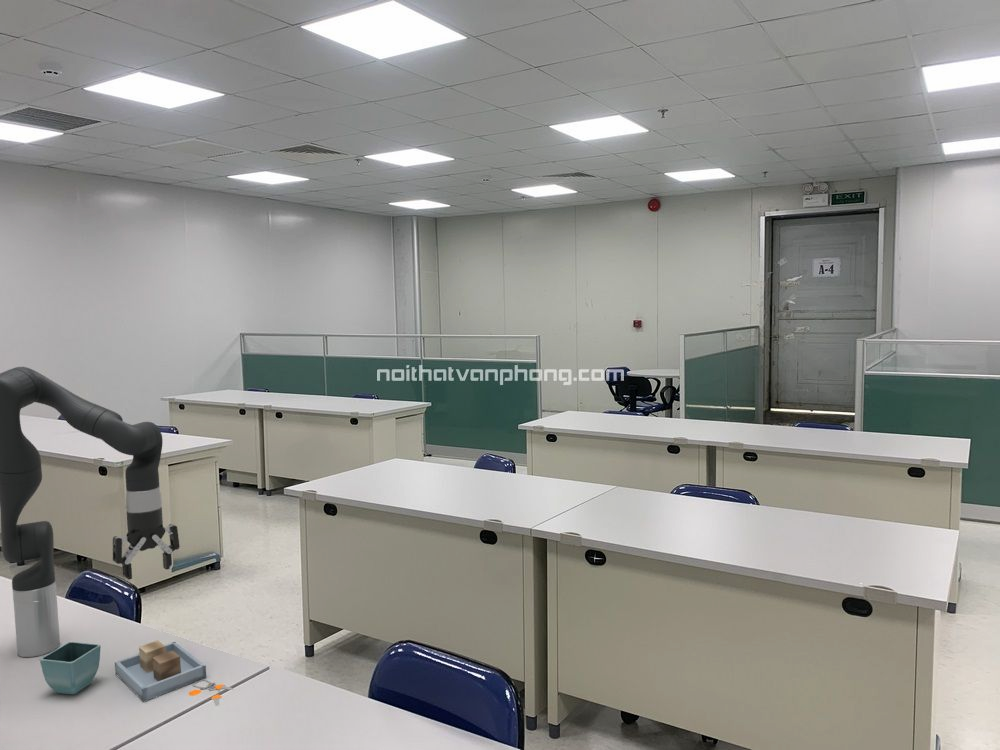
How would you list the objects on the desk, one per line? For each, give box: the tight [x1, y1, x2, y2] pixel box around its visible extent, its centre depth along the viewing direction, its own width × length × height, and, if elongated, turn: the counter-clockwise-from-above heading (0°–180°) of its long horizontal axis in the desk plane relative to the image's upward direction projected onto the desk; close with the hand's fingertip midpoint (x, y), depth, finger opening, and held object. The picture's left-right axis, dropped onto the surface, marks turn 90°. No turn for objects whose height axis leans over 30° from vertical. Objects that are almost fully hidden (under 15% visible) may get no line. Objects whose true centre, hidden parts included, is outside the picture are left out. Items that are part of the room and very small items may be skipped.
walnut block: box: [153, 651, 181, 681], centre depth 162 cm, size 4×4×5 cm
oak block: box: [138, 640, 166, 673], centre depth 168 cm, size 4×4×5 cm
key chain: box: [188, 678, 235, 707], centre depth 158 cm, size 13×7×1 cm, turn 59°
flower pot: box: [39, 641, 102, 696], centre depth 160 cm, size 9×9×9 cm
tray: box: [114, 641, 207, 703], centre depth 165 cm, size 18×14×3 cm
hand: (148, 573), depth 166 cm, fingers open, 8 cm apart
